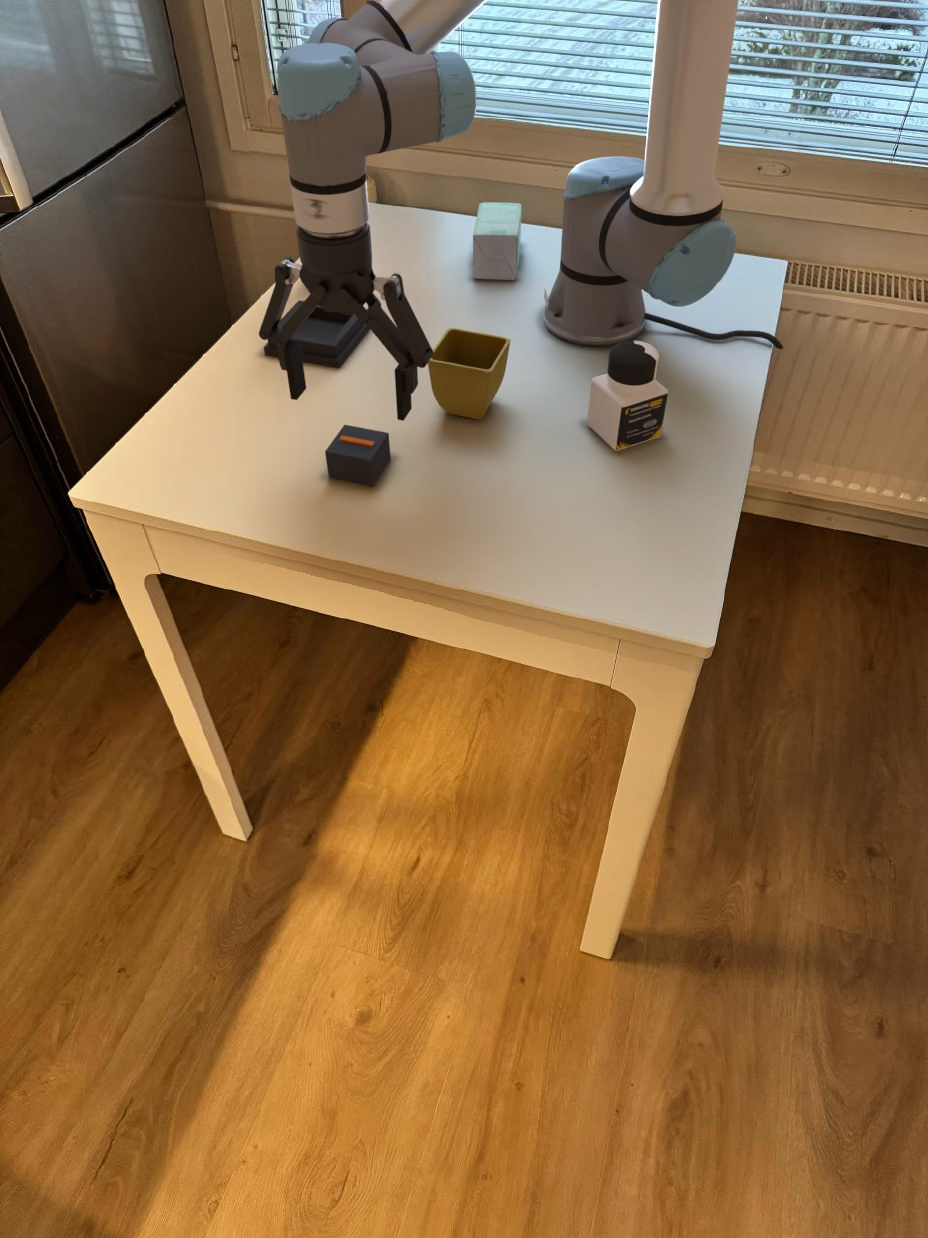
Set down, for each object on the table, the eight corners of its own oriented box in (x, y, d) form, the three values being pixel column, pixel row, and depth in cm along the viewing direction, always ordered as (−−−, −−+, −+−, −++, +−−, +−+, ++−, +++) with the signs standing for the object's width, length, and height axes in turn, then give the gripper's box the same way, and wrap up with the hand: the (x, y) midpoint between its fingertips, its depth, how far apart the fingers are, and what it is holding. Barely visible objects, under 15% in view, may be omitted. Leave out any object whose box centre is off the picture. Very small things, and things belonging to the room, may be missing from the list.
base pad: (371, 327, 139) (369, 309, 137) (339, 367, 131) (337, 348, 129) (299, 315, 142) (297, 297, 140) (264, 354, 134) (261, 335, 132)
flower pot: (509, 396, 126) (511, 337, 120) (490, 431, 120) (491, 371, 114) (449, 385, 128) (448, 326, 122) (427, 419, 122) (425, 359, 116)
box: (520, 243, 159) (522, 200, 153) (517, 280, 149) (518, 235, 144) (478, 243, 159) (478, 199, 154) (472, 279, 150) (472, 234, 144)
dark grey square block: (390, 458, 116) (388, 430, 113) (373, 486, 113) (370, 458, 109) (347, 450, 118) (344, 422, 115) (328, 477, 114) (324, 449, 111)
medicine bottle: (615, 452, 117) (627, 370, 108) (585, 424, 121) (594, 342, 113) (661, 437, 119) (676, 355, 110) (630, 410, 124) (642, 328, 115)
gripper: (205, 221, 93) (241, 401, 108) (436, 256, 88) (439, 440, 103) (240, 194, 98) (270, 369, 113) (460, 225, 93) (460, 405, 108)
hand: (351, 403), depth 108 cm, fingers open, 13 cm apart
